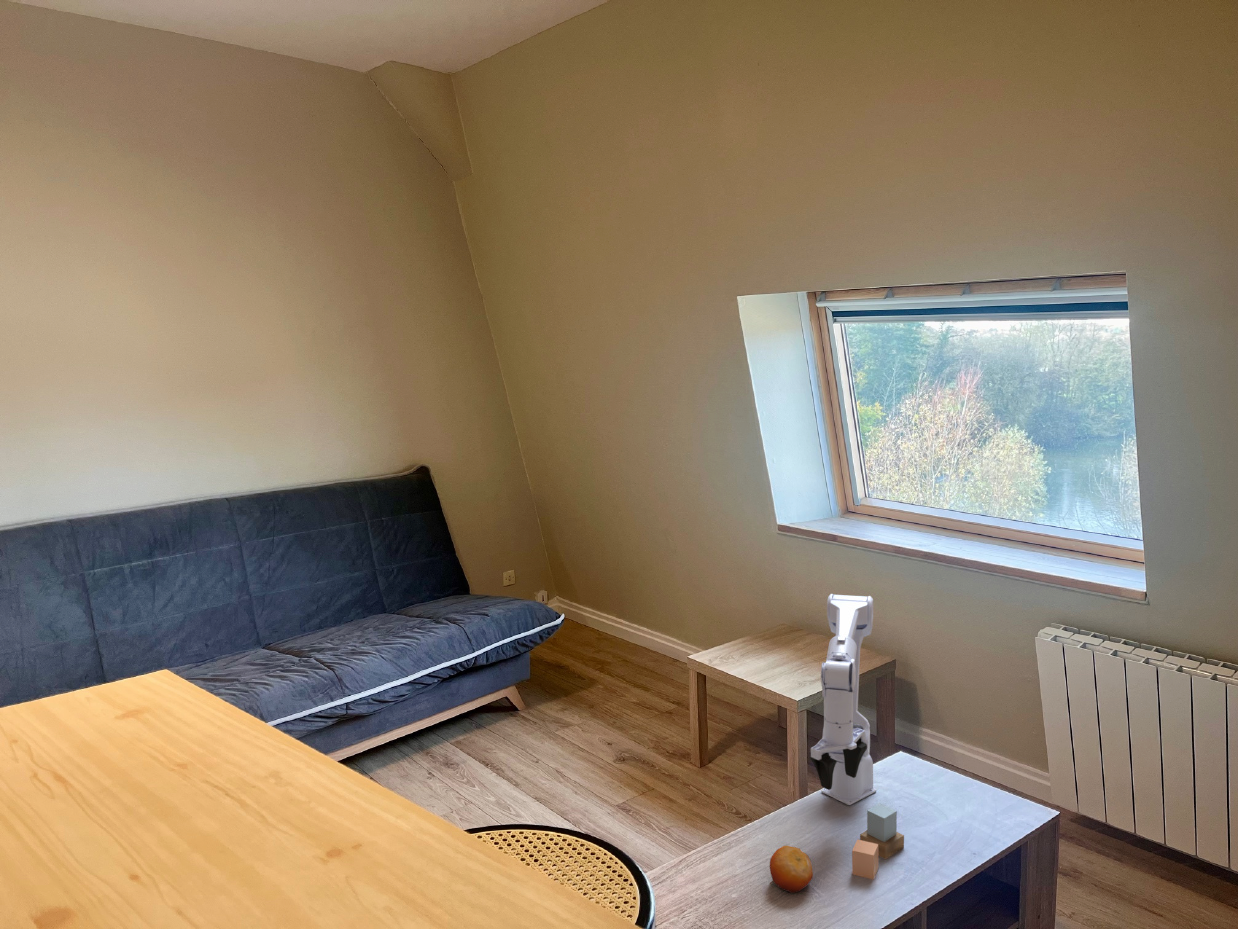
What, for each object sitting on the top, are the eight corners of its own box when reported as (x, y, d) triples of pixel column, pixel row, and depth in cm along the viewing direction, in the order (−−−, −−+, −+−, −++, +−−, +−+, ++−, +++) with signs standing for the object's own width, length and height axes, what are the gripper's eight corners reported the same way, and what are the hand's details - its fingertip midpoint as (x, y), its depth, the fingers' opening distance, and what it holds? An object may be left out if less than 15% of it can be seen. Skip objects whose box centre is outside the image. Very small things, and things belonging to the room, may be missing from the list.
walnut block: (878, 837, 186) (878, 823, 186) (903, 849, 181) (903, 835, 181) (860, 848, 182) (860, 834, 182) (885, 861, 178) (885, 847, 177)
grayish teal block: (879, 826, 184) (879, 803, 184) (896, 834, 181) (896, 811, 181) (867, 833, 182) (867, 810, 181) (884, 842, 179) (884, 818, 178)
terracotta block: (857, 863, 177) (857, 839, 176) (878, 868, 175) (878, 844, 174) (852, 874, 173) (852, 850, 173) (873, 880, 172) (873, 855, 171)
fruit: (774, 857, 177) (792, 832, 174) (806, 889, 174) (825, 864, 170) (752, 878, 171) (771, 851, 168) (784, 911, 168) (804, 885, 164)
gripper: (830, 735, 178) (830, 800, 180) (877, 714, 186) (877, 777, 188) (802, 723, 184) (803, 787, 185) (849, 704, 192) (850, 765, 194)
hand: (838, 781), depth 187 cm, fingers open, 7 cm apart
